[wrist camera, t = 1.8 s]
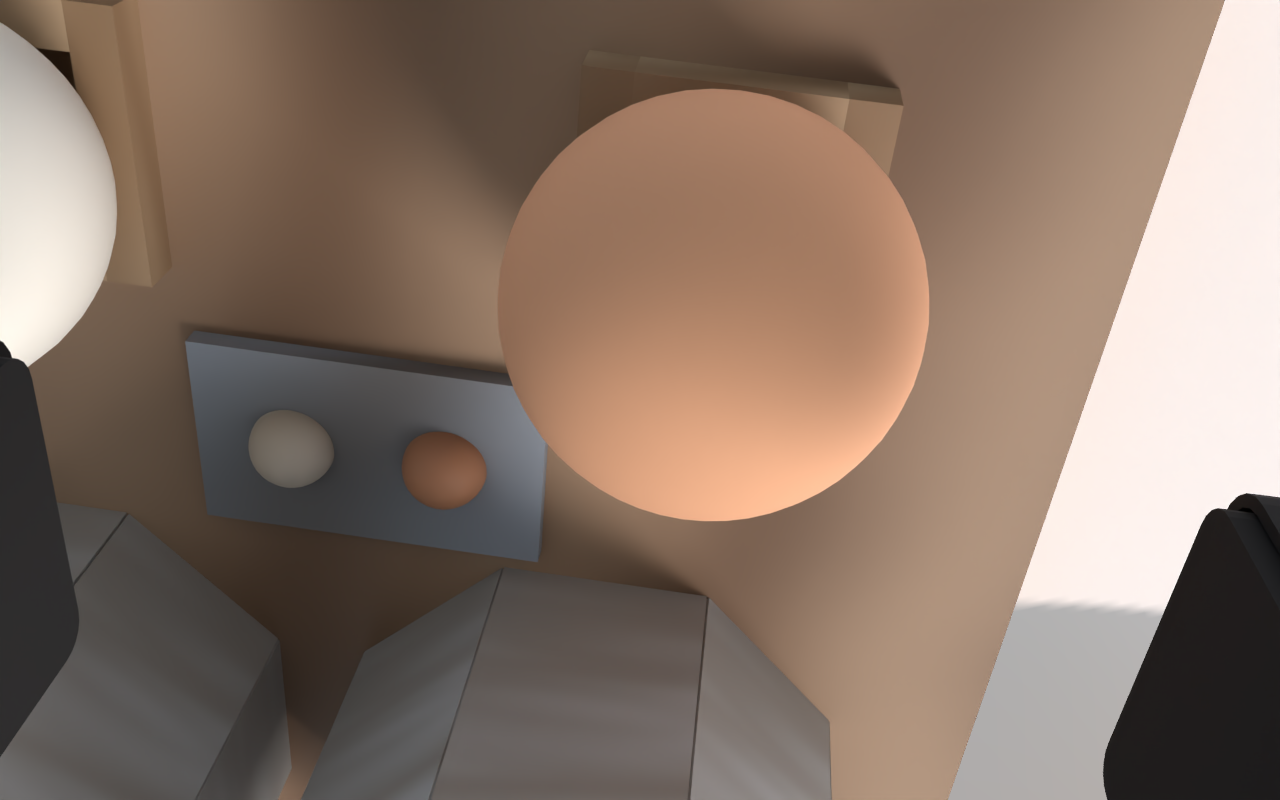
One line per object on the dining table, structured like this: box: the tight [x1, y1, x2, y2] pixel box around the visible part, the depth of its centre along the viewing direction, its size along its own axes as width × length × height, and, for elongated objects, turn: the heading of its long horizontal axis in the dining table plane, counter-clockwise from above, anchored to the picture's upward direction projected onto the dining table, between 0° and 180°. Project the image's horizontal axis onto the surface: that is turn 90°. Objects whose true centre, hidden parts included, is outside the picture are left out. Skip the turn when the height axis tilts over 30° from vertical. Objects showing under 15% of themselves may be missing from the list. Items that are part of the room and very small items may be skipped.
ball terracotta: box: [498, 89, 929, 521], centre depth 13 cm, size 4×4×4 cm
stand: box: [0, 0, 1225, 800], centre depth 16 cm, size 20×18×10 cm
